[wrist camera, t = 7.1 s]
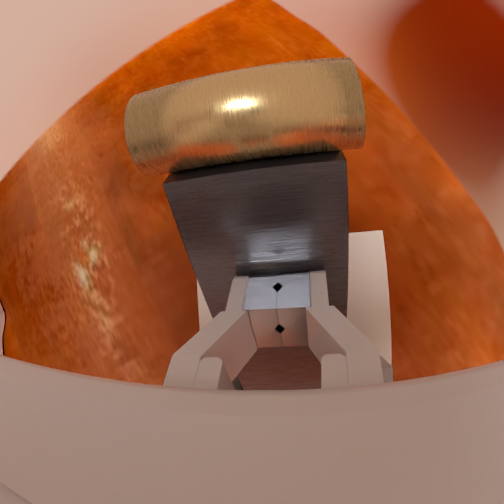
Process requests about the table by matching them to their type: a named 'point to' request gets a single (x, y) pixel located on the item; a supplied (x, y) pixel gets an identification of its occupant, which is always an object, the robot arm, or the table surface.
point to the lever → (257, 182)
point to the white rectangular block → (356, 296)
